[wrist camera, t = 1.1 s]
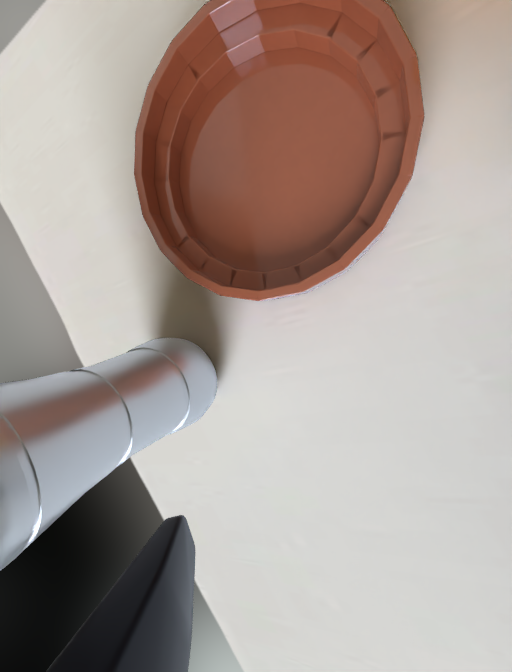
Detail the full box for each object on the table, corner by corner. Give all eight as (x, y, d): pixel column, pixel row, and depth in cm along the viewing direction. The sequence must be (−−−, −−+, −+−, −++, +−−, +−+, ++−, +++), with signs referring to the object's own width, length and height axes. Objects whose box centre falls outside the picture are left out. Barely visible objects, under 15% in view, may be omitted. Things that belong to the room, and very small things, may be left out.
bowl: (476, 59, 14) (505, 3, 12) (325, 339, 19) (320, 348, 16) (211, -4, 18) (185, -58, 15) (138, 243, 23) (106, 236, 20)
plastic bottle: (215, 426, 23) (-446, 1048, 4) (146, 392, 24) (-531, 713, 6) (237, 351, 21) (-672, 801, 2) (162, 320, 23) (-692, 445, 4)
